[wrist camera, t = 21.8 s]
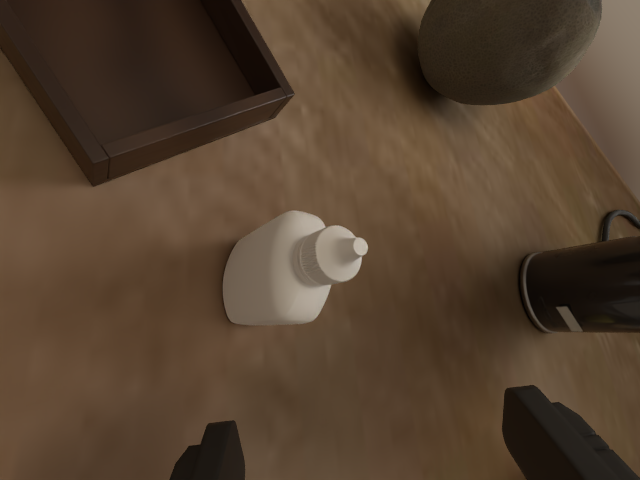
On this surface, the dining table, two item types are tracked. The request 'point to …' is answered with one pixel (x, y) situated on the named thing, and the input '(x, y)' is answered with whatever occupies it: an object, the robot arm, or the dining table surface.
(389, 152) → the dining table surface
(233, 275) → the eye dropper bottle
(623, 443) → the dining table surface
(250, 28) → the tray
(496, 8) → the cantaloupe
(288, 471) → the dining table surface
